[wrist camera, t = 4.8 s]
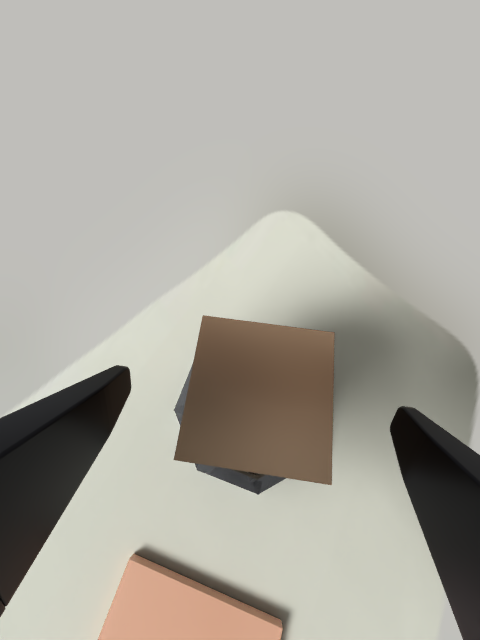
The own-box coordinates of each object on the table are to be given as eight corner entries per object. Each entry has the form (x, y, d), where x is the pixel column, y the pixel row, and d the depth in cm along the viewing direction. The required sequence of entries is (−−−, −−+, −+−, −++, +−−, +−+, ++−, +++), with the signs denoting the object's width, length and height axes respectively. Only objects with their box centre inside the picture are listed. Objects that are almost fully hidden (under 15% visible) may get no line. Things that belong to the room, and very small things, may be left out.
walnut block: (283, 450, 16) (331, 484, 7) (209, 438, 16) (173, 459, 8) (289, 375, 17) (334, 332, 9) (221, 365, 18) (202, 315, 9)
